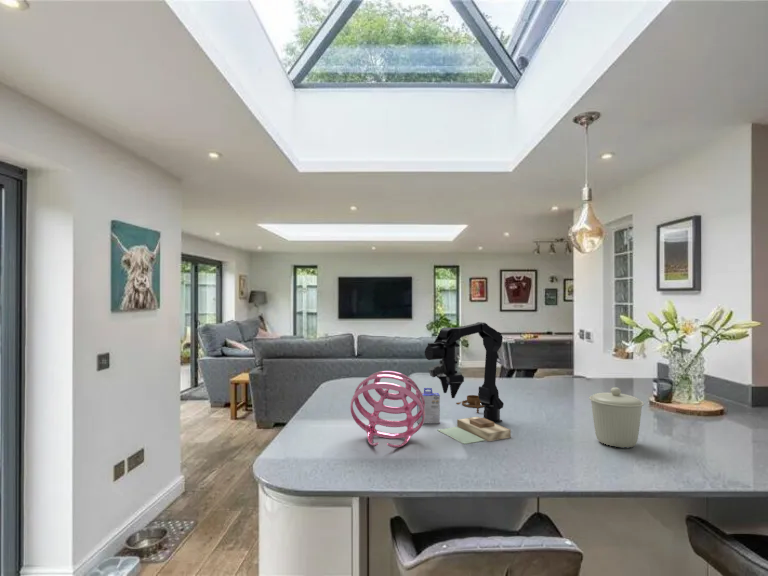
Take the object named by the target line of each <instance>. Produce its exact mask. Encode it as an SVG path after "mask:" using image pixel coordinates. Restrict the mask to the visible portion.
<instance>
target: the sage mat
mask: <svg viewBox="0 0 768 576" xmlns="http://www.w3.org/2000/svg"><path fill="white" fill-rule="evenodd" d="M437 432H439V433H442V435H445V436H446V437H448V438H451V439H453V440H454V441H456V442H459V443H460V444H462V445H469V444H476V443H479V442H486V440H485V439H482V438H480V437H478V436H476V435H474V434H472V433H470V432H468V431H465V430H463V429H461V428H459V427H457V426H455V427H449V428H447V427H446V428H441V429H437Z"/></svg>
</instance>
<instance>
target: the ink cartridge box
mask: <svg viewBox="0 0 768 576" xmlns="http://www.w3.org/2000/svg"><path fill="white" fill-rule="evenodd" d="M428 390H429V391H428ZM421 393H422V395H423V397H424V401H425V420H424V423H423V424H440V419H441V417H440V416H441V408H440V407H441V405H440V403H441V398H440V397H441V395H440V394H439V392H433V388H432V387H423V392H421ZM420 400H421V402H422V399H421V396H420ZM416 411H417V412H416V414H417V413H418V412H419V411H420V407H419V406H418V404H417V406H416ZM421 421H422V416H421V418H420V419H419V420H417V421H416V422H417V424H420V422H421Z"/></svg>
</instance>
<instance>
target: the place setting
mask: <svg viewBox="0 0 768 576" xmlns="http://www.w3.org/2000/svg"><path fill="white" fill-rule="evenodd" d="M480 403H481V401H480V400H479V396H478V394H476V395H475V394H474V395H473V394H470V395H466V399H465V400H462V401H460V402H459V401H458V402H456V403H455V404H456V405H460V404H462V406H464V407H466V408H472V409H475V408H476V414H479V413H480V412H479V411H480V409H481V408H484V405H482V404H480ZM479 408H480V409H479Z"/></svg>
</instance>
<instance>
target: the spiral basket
mask: <svg viewBox="0 0 768 576" xmlns="http://www.w3.org/2000/svg"><path fill="white" fill-rule="evenodd" d="M381 379H391V380H395V381H396V380H397V381H400V382H402V383H404V384H405V387H404V386H402V385H399V384H396V383H393V382H392V383H391V382H384V381H383V382H381ZM372 380H374V381H373V383H369V382H370V381H372ZM412 388H413V390H415V393H414V392H413V391H412ZM384 389H385V390H384ZM371 390H374V391H375V392H376V393H377V394H378V395H379V396H380V399H379V400H378V401H376V400H375V399H374V398H373V397H372V396H371V394H370V392H369V391H371ZM390 390H391V391H395V392H397V393H390V392H389V391H390ZM422 393H423V392H422V391H421V389H419V386H418V384H416V382H415V381H414V380H413V379H412V378H411V377H409V376H408V375H406V374H404V373H402V372H399V371H394V370H380V371H376V372H374V373H372V374H370V375H369V376H367V377H366V378H365V379H363V380H362V381H360V383H359V384H358V385H357V387H356V388H355V391H354V394H353V395H352V398H351V400H350V407H349V409H350V414H351V417H352V419H353V420H354V422H355V423H356V424H357V426H359V428H361V429H362V430H364V431H365V433H366V434H367V437H366V438H367V442H368V444H369V445H370V446H372V447H377V446H378V445H379V442H374V437H377V438H378V437H379V438H381V439H382V438H383V439H388V440H391V439H392V440H393V439H394V440H397V439H404V440H403V442H402V443H400V444H397V445H396V444H392V443H388V442H387V443H386V445H387V446H388V447H390V448H392V449H399V448H403V447H404V446H406V444H408V443H409V441H410V440H411V438H412V436H413V435H414V434H417V432H419V430H421V428H422V426H423V424H425V423H424V420H425V401H424V397H423V395H422ZM361 394H362V395H363V398H364V400H365V401H366V403H368V404H369V405H370V406H371V407H372V408H373V412H372V413H371V412H369V411H368V410H367V409H365V408H364V406H363V404H362V403H361V401H360V398H359V396H360V395H361ZM420 396H421V399H422V402H421V400H420ZM407 397H409V398H410V399H412V401H411V402H408V400H407ZM386 399H387V400H390V401H402V402H403V405H402V406H388V405H384V402H385V400H386ZM417 404H418V406H419V407H420V411H419V412H418V413H417V412H416V414H415V415H413V413H412V411H413V410H414V409H415V408H417ZM354 405H355V407H356V409H357V411H358V412H359V413H360V414H361V415H362V416H363V417H364V418H366V420H368V424H365V423H364V422H363V421H361V420H360V418H359V416H357V414H356V413H355V410H354ZM382 412H383V413H386V414H391V415H392V414H393V415H397V414H398V415H399V414H405V415H406V418H405V419H403V420H388V419H383V418H381V417H380V415H379V414H380V413H382ZM421 416H422V421H421V422H420V423H418V425H417V426H415V427H414V425H415V424H416V422H417V420H419V419H420V418H421ZM377 425H379V426H383V427H388V428H402V427H406V430H405V431H403V432H399V433H397V432H395V433H391V432H385V431H381V430H380V431H379V430H377V429H376V426H377Z"/></svg>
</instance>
